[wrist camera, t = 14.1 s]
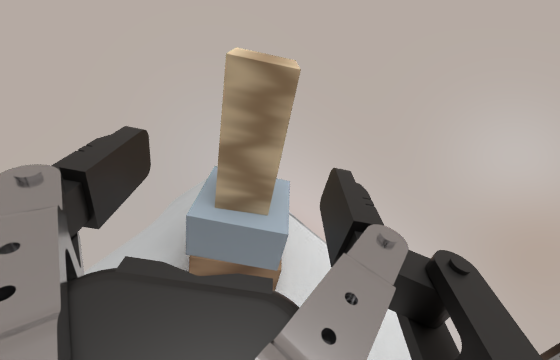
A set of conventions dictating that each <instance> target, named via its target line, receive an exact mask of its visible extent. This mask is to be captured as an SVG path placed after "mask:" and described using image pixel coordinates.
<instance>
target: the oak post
mask: <svg viewBox="0 0 560 360" xmlns="http://www.w3.org/2000/svg"><path fill="white" fill-rule="evenodd" d="M300 71H301V69H300V67H299V66H298V64H297V63H296V60H291V59H286V58H282V57H277V56H273V55H268V54H264V53H259V52H255V51H250V50H246V49H241V48H237V47H236V48H235V49H233V50H231V51H230V52H228V53H227V54H226V63H225V77H224V90H223V104H222V116H221V129H220V143H219V156H218V169H217V182H216V196H215V208H219V209H226V210H233V211H240V212H247V213H254V214H261V215H268V213H269V209H270V204H271V200H272V195H273V191H274V186H275V182H276V177H277V173H278V168H279V164H280V160H281V155H282V151H283V146H284V141H285V137H286V133H287V128H288V124H289V119H290V115H291V111H292V106H293V101H294V97H295V93H296V88H297V83H298V79H299V75H300Z"/></svg>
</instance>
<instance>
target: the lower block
mask: <svg viewBox="0 0 560 360" xmlns="http://www.w3.org/2000/svg"><path fill="white" fill-rule="evenodd" d="M189 273H192V274H194V275H197V276H209V275H222V274H236V273H240V274H246V275H253V276H260V277H266V278H273V290H274V291H275V288H276V285H277V282H278V279H279V276H280V273H281V260H280V263H279V266H278V270H277V271H275V270H270V269H264V268H259V267H253V266H247V265H242V264H236V263H231V262H225V261H220V260H214V259H208V258H203V257H197V256H192V255H190V257H189Z"/></svg>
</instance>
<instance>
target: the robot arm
mask: <svg viewBox="0 0 560 360" xmlns="http://www.w3.org/2000/svg"><path fill="white" fill-rule="evenodd" d="M150 165H151V163H150V149H149V136H148V133H147V131H146V130H143V129H138V128H133V127H128V126H125V127H123V128H121V129H120V130H118V131H116V132H115V133H113V134H111V135H108V136H104V137H101V138H97V139H95V140H94V141H92V142H90V143H89V144H87V145H86V146H84V147H82V148H80V149H79V150H78V151H75V152H74V153H72V154H70V155H68V156H67V157H65V158H63V159H62V160H60V161H58V162H57V163H55V164H53V165H52V166H49V165H26V166H20V167H16V168H12V169H9V170H7V171H4V172H2V173H1V174H0V360H367V357H368V355H369V353H370V350H371V348H372V345H373V343H374V341H375V338H376V336H377V333H378V331H379V329H380V326H381V324H382V321H383V319H384V317H385V314H386V312H387V309H390V310H392V311H394V312H396V314H397V317H398V320H399V323H400V326H401V329H402V332H403V335H404V338H405V341H406V344H407V347H408V350H409V353H410V356H411V359H412V360H543V359H542V358H541V356H540V355H539V354H538V352H537V351H536V350H535V348H534V347H533V345H532V344H531V343H530V341H529V340H528V339H527V337H526V336H525V335H524V333H523V332H522V331H521V329H520V328H519V326H518V325H517V324H516V322H515V321H514V320H513V318H512V317H511V315H510V314H509V313H508V311H507V310H506V309H505V307H504V306H503V305H502V303H501V302H500V300H499V299H498V298H497V296H496V295H495V293H494V292H493V291H492V290H491V288H490V287H489V285H488V284H487V282H486V281H485V280H484V278H483V277H482V276H481V274H480V273H479V272H478V270H477V269H476V268H475V267H474V266H473V265H472V264H471V263H470V262H468V261H467V260H466V259H464V258H462V257H461V256H459V255H457V254H455V253H452V252H449V251H445V250H439V251H437V252H436V253H435V254H434V255H433V257H432V258H431V259H430V258H427V257H425V256H422V255H420V254H417V253H415V252H413V251H410V250H408V244H407V242H406V241H405V239H404V238H403V237H402V236H401V235H400V234H398V233H397V232H396V231H394V230H392V229H391V228H388V227H386V226H384V224H383V222H382V220H381V218H380V216H379V214H378V212H377V210H376V208H375V207H374V204H373V202H372V200H371V198H370V196H369V194H368V192H367V191H366V190H365V189H364V188H363V187H362V186H361V185H360V184H358V183H356V182H355V180H354V178H353V175H352V173H351V171H347V170H343V169H337V168H333V169H332V170H331V172H330V175H329V178H328V181H327V183H326V186H325V189H324V191H323V194H322V197H321V202H320V211H321V216H322V221H323V227H324V232H325V237H326V243H327V248H328V253H329V258H330V264H331V267H332V268H331V269H330V271H329V272H328V273H327V274H326V276H325V277H324V278H323V279H322V281H321V282H320V283H319V284H318V286H317V287H316V288H315V289H314V291H313V292H312V293H311V294H310V296H309V297H308V298H307V299H306V301H305V302H304V303H303V304H302V306H301V307H300V308H299V307H298V306H297V305H296V304H295V303H294V302H293V301H291V300H290V299H288V298H287V297H285V296H284V295H282V294H280V293H278V292H276V291H274V290H273V278H266V277H260V276H253V275H246V274H240V273H236V274H222V275H209V276H197V275H194V274H192V273H189V272H187V271H184V270H182V269H179V268H177V267H174V266H172V265H169V264H167V263H164V262H160V261H153V260H147V259H140V258H133V257H127V256H125V258H124V259H123V260H122V262H121V263H120V265H119V266H118V268H113V269H107V270H101V271H97V272H93V273H89V274H86V275H84V269H83V261H82V252H81V244H80V237H79V233H78V231H79V230H80V229H81V228H82V227H88V228H94V229H99V228H100V227H101V226H102V225H103V224H104V223H105V222H106V221H107V220H108V219H109V217H110V216H111V215H112V214H113V213H114V212H115V211H116V210H117V209H118V208H119V207H120V206H121V204H122V203H123V202H124V201H125V200H126V199H127V198H128V197H129V196H130V195H131V194H132V192H133V191H134V190H135V189H136V188H137V187H138V186H139V185H140V184H141V183H142V181H143V180H144V179H145V178H146V177H147V176H148V174H149V171H150ZM449 317H451V319H452V321H453V323H454V325H455V327H456V329H457V331H458V333H459V335H460V338H461V342H462V351H461V353H459V351H458V349H457V347H456V345H455V343H454V341H453V338H452V336H451V334H450V332H449V330H448V328H447V326H446V324H445V321H446V320H447V319H448V318H449Z"/></svg>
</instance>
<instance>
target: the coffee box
mask: <svg viewBox="0 0 560 360" xmlns="http://www.w3.org/2000/svg"><path fill="white" fill-rule="evenodd" d="M540 356H541V358H542V359H543V360H560V343H559V344H557V345H555V346H554V347H552V348H551V349H549V350H548V351H546V352H544V353H543V354H541V355H540Z"/></svg>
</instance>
